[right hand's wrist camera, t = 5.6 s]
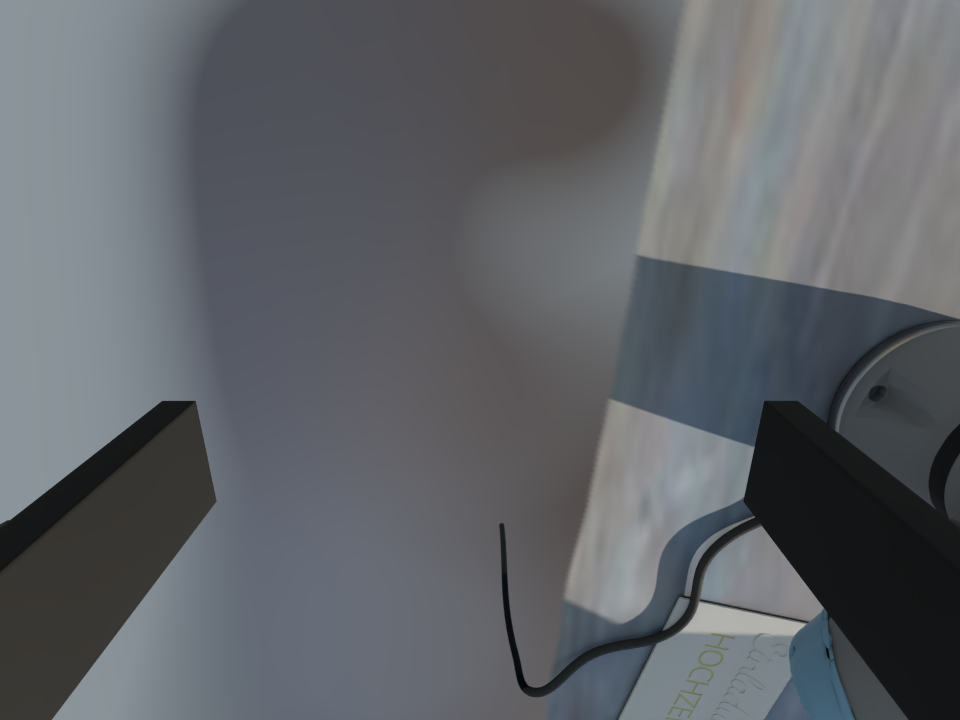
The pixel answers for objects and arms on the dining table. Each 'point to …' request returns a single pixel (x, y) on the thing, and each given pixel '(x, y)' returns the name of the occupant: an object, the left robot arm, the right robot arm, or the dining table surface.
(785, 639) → the invitation card
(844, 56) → the dining table surface
